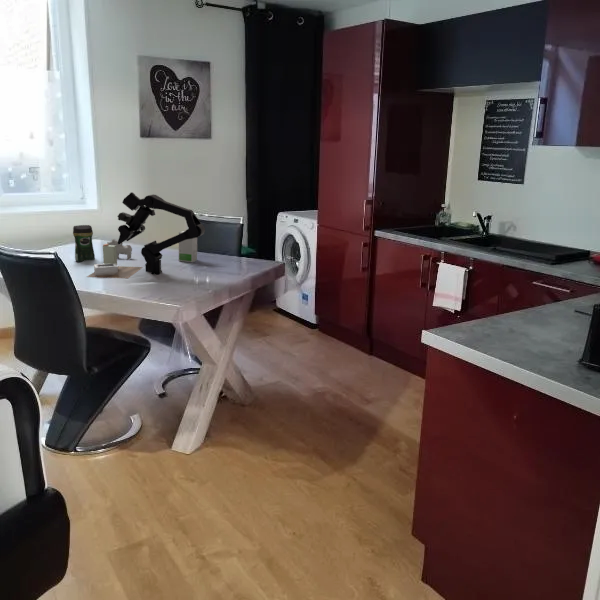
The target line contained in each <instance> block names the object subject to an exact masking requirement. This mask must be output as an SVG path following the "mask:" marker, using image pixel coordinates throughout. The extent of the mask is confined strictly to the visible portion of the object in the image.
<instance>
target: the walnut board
mask: <svg viewBox="0 0 600 600" xmlns="http://www.w3.org/2000/svg"><path fill="white" fill-rule="evenodd" d="M117 266H118V265H117ZM142 268H144V267H143V266H141V267H140V266H122V265H121V266H120V265H119V266H118V275H107V276H95V273H94V272H91V274H89V275H87V276H86V278H101V279H102V278H103V279H104V278H105V279H107V278H108V279H129V278H131V277H132V276H133V275H135V274H136V273H137V272H139V271H140V270H141V269H142Z"/></svg>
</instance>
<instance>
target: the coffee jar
mask: <svg viewBox="0 0 600 600" xmlns="http://www.w3.org/2000/svg"><path fill="white" fill-rule="evenodd" d="M72 234H73V235H72V236H74V245H75V246H74V249H75V250H74V261H76V262H79V263H83V262H86V261H94V260H96V256H95V250H94V245H93V234H94V232H93V227H92V225H90V224H82V225H74V226H73V228H72Z"/></svg>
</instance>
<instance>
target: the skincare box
mask: <svg viewBox="0 0 600 600" xmlns="http://www.w3.org/2000/svg"><path fill="white" fill-rule="evenodd" d="M185 231H186V230H182V231H179V232H178V235H179V234H181V233H183V232H185ZM197 260H198V237H197V238H193V239H187V240H184V241H182V242H179V243H178V262H187V263H194V262H197Z"/></svg>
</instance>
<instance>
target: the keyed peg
mask: <svg viewBox="0 0 600 600" xmlns="http://www.w3.org/2000/svg"><path fill="white" fill-rule="evenodd" d="M102 255H103V256H102V258H103V264H110V263H116V264H117V265H118V258H117V252H116V246H115V245H109V244H107V243H104V244H102Z"/></svg>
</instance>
